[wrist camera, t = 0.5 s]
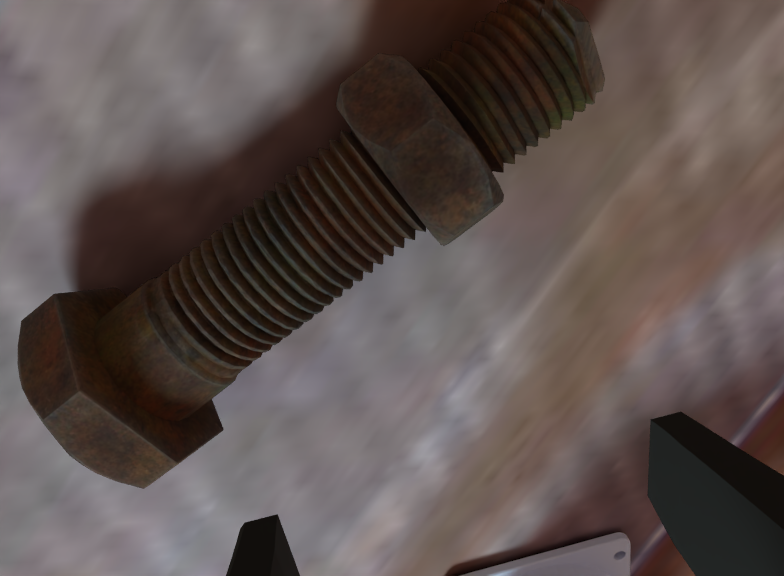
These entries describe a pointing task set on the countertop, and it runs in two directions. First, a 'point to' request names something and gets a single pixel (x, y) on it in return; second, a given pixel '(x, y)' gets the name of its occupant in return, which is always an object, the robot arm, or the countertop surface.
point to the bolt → (304, 240)
